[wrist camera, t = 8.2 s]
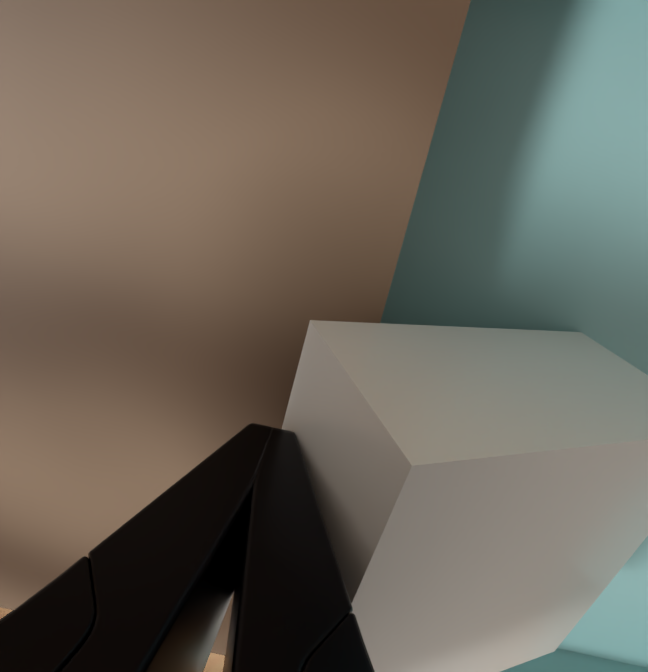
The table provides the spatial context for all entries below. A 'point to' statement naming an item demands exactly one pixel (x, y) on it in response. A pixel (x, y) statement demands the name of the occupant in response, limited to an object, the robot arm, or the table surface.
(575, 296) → the box
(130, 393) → the brown wooden board
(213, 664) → the table surface
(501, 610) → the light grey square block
